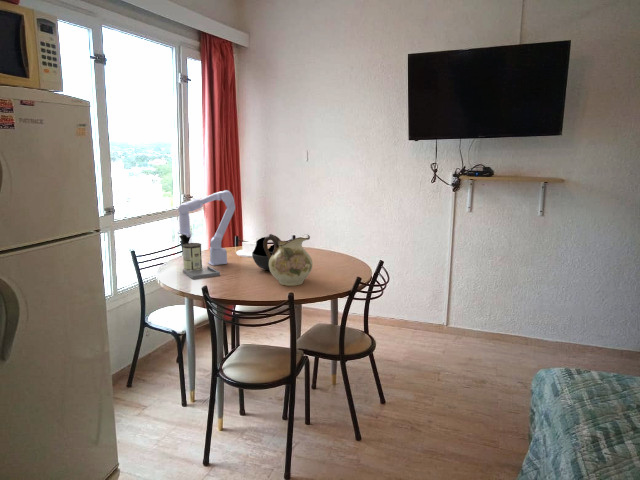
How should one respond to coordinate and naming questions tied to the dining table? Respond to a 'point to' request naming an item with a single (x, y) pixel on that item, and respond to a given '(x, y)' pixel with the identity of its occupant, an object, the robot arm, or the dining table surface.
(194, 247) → the coffee can
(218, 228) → the robot arm
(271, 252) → the bowl of black rocks
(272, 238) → the pitcher
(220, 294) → the dining table surface
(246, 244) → the dish
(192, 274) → the tray
